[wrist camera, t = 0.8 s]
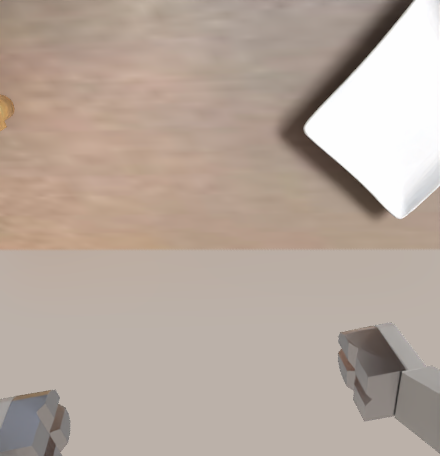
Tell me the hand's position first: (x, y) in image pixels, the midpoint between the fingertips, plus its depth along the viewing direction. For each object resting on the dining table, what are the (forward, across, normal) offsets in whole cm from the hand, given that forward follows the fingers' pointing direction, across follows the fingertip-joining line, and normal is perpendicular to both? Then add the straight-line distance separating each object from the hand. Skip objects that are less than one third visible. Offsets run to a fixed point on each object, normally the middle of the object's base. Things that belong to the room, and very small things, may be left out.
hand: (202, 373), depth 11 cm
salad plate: (+39, -29, +6) cm, 49 cm away
